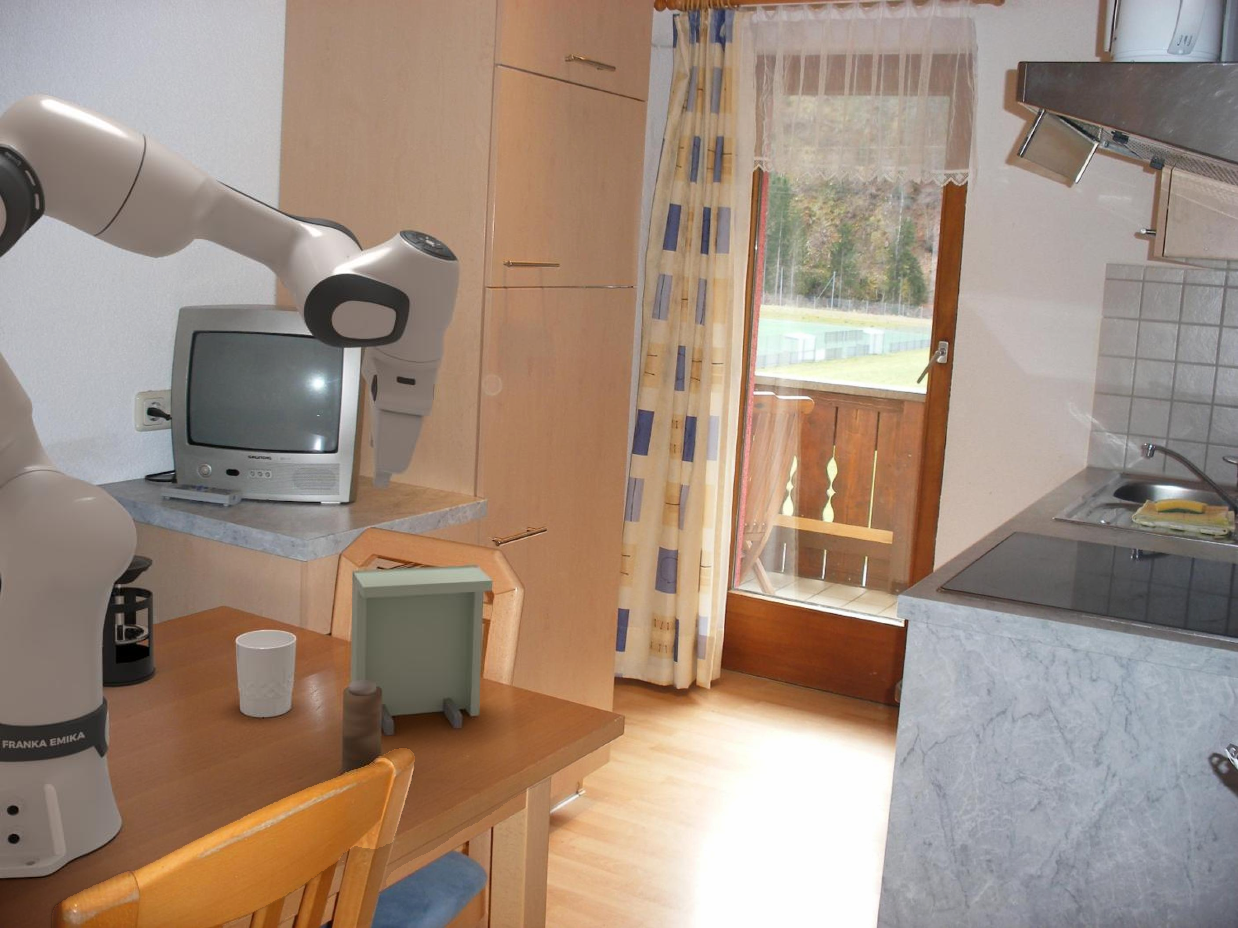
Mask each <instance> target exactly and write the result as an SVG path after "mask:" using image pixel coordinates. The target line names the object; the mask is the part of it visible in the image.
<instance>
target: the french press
mask: <svg viewBox="0 0 1238 928" xmlns="http://www.w3.org/2000/svg"><path fill="white" fill-rule="evenodd" d="M152 565H153V560H152V559H151V558H149V557H147V556H143V555H135V554H134V557H133V559H132V561H131V563H130V565H129V566H128V568H127V569H126V571H125V572H124V573H123V574H122V575H121V576H120V577H119V578H118V579H117V580H116V581H115V583H114V585H113V586H115V585H116V586H117V587H113V588H112V592H111V595H110V598H112V597H114V598H115V597H117V603H115V604H113V603H108V607H107V611H106V615H105V620H104V626H103V636H102V684H103V687H108V688H109V687H110V688H113V687H116V688H117V687H127V686H134V685H136V684H141V683H144V682H146V681H149V680H150V679H152V678H153V677H155V675H156V668H155V665H154V664H155V661H154V659H155V658H154V657H155V656H154V655H155V654H154V650H155V649H154V594H153V591H151V590H149V589H147V588H142V587H136V586H135V587H133V586H121V585H128V584H130V583H133V582H134V581H136V580H137V579H139V577H140V576H141V574H143V572H147V571H148V570H149V568H150V567H151V566H152ZM122 597H123V603H122V599H121V598H122ZM137 597H138V598H144V599H142V600H138V601H137ZM146 609H147V626H145V625H142V624H137V612H139V611H143V610H146ZM116 614H117V615H118V616H117V617H118V619H117V620H118V623H117V624H116ZM122 614H123V623H122ZM146 640H147V643H148V644H147V645H146V644H145V645H144V644H140V643H141V642H144V641H146Z"/></svg>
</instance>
